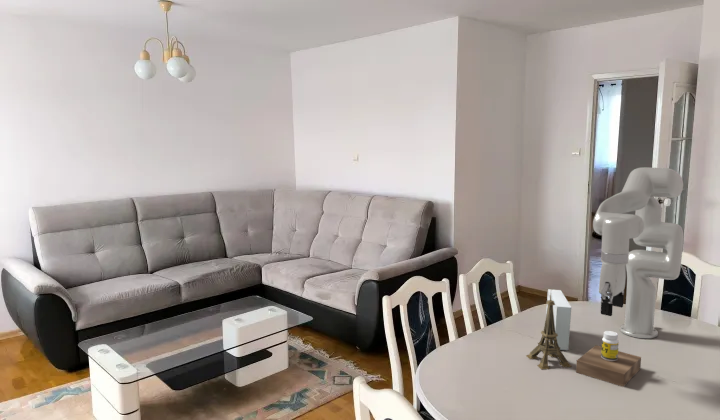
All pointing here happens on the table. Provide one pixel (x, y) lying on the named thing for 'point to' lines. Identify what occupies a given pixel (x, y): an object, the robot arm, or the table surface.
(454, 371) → the table surface
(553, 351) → the eiffel tower
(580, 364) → the podium
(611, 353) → the supplement bottle
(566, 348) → the skincare box
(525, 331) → the table surface
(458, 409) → the table surface
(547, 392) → the table surface
